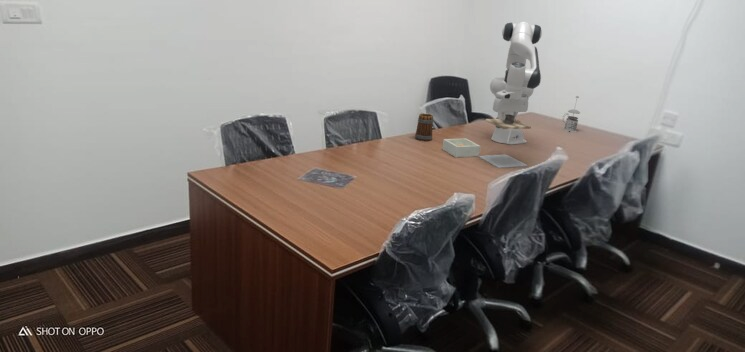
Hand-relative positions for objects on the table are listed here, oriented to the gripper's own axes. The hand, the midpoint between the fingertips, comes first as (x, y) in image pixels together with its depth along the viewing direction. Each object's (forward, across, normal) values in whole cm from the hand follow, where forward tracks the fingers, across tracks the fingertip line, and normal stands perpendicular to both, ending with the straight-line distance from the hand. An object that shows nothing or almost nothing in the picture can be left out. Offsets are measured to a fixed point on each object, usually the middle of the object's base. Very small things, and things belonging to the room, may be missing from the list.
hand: (508, 120), depth 267 cm
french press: (+23, -97, -54) cm, 114 cm away
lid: (+3, 0, 0) cm, 3 cm away
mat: (+23, 0, 0) cm, 23 cm away
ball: (+20, +16, -18) cm, 31 cm away
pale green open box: (+23, +16, -18) cm, 33 cm away
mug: (+23, +23, -48) cm, 58 cm away
